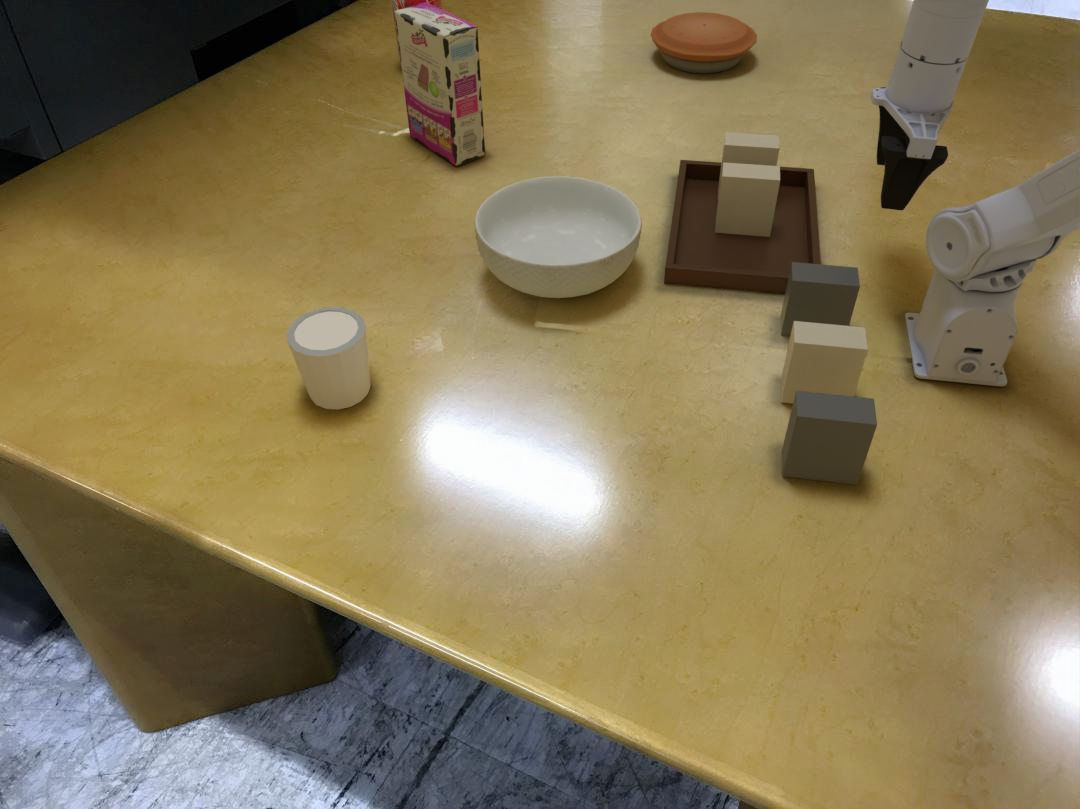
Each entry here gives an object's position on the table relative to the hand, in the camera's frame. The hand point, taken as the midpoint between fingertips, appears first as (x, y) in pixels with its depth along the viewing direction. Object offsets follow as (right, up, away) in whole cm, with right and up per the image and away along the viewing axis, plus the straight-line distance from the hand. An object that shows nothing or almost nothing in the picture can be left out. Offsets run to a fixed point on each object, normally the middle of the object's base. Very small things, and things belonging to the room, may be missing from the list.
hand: (889, 185), depth 87 cm
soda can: (-52, +29, +48) cm, 76 cm away
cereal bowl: (-32, -8, +8) cm, 34 cm away
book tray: (-12, -2, +13) cm, 17 cm away
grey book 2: (-11, -27, -13) cm, 32 cm away
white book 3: (-9, -21, -6) cm, 23 cm away
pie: (-10, +30, +48) cm, 57 cm away
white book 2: (-11, -2, +13) cm, 17 cm away
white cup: (-53, -20, -4) cm, 56 cm away
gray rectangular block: (-8, -14, 0) cm, 16 cm away
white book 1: (-10, +3, +18) cm, 21 cm away
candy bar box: (-46, +12, +29) cm, 56 cm away
